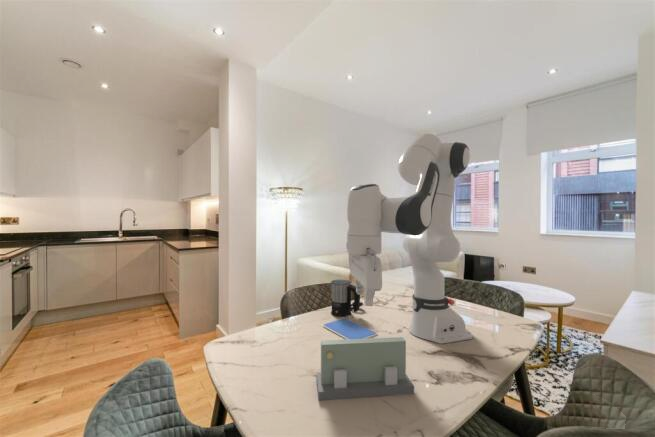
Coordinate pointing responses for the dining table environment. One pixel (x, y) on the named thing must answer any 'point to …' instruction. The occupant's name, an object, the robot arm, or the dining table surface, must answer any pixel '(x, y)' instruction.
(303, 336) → the dining table surface
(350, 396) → the hinge base
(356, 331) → the tablet computer
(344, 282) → the milk frother
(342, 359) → the cabinet door
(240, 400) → the dining table surface
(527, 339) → the dining table surface
